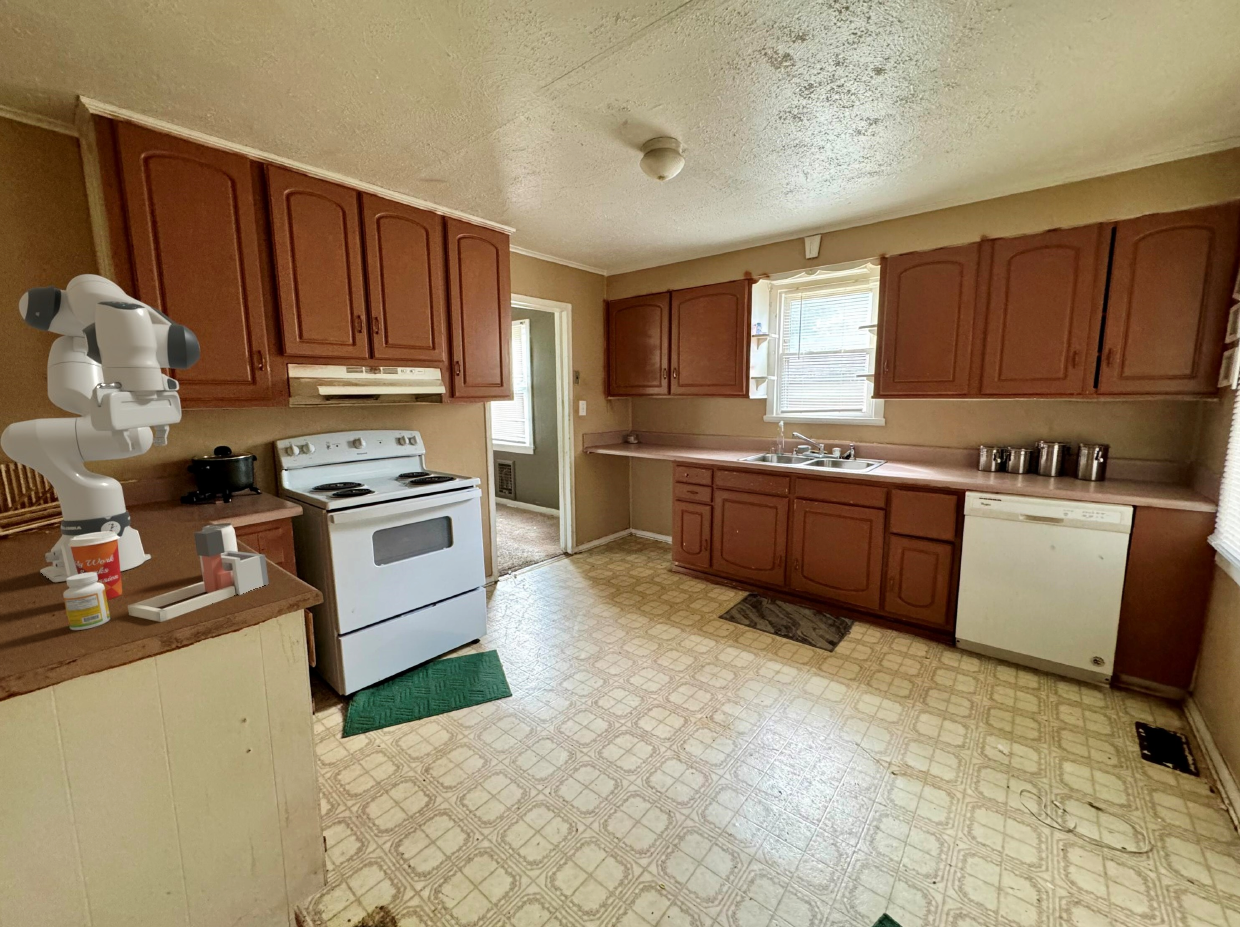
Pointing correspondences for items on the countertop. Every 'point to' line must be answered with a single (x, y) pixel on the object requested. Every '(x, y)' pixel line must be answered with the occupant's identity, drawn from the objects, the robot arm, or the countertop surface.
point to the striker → (212, 559)
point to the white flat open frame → (152, 612)
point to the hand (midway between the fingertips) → (145, 448)
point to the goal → (244, 570)
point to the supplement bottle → (85, 602)
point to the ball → (232, 578)
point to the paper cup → (99, 559)
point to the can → (225, 535)
